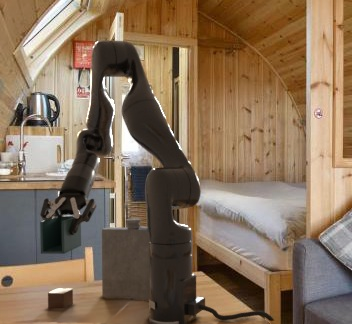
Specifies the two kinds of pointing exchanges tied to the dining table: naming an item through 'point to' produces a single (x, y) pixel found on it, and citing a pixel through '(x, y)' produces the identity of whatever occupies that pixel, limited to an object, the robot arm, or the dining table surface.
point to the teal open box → (58, 235)
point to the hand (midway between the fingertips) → (58, 232)
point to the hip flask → (126, 261)
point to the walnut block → (60, 298)
